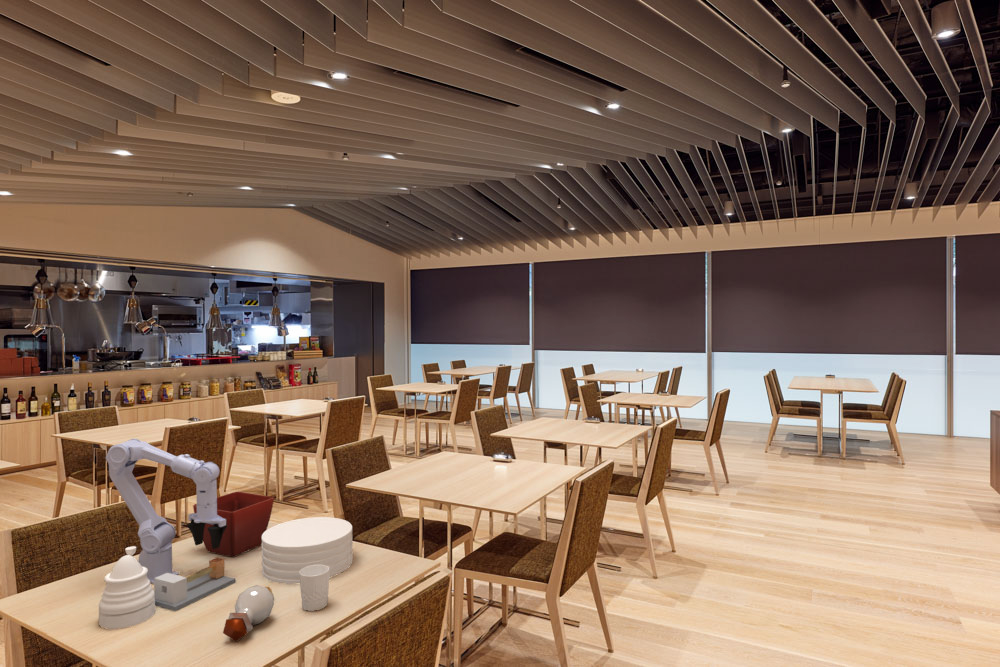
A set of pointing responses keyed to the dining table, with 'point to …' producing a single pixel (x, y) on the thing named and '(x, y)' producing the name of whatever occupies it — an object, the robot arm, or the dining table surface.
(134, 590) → the honey pot
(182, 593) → the block
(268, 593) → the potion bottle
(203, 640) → the dining table surface
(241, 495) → the plant pot
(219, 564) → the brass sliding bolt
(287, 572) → the plate stack
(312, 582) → the white cup
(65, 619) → the dining table surface
